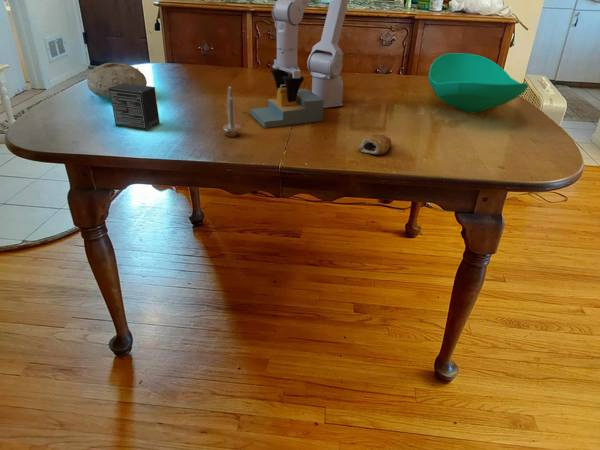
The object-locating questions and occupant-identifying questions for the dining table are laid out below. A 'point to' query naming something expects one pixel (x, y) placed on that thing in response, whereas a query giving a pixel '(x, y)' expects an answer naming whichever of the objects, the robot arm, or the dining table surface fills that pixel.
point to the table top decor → (472, 82)
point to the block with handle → (283, 97)
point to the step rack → (291, 111)
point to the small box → (134, 106)
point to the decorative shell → (113, 77)
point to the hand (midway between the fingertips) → (286, 97)
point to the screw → (231, 116)
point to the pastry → (375, 144)
